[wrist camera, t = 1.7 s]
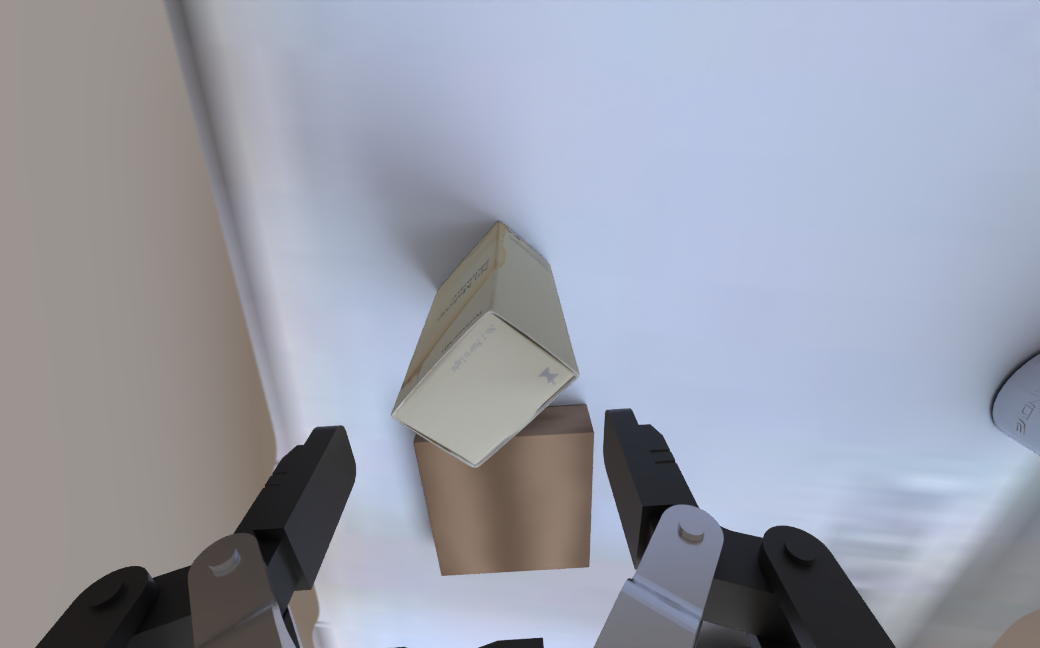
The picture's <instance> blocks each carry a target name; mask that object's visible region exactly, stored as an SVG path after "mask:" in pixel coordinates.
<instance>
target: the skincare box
mask: <svg viewBox="0 0 1040 648" xmlns="http://www.w3.org/2000/svg"><path fill="white" fill-rule="evenodd" d="M578 377H579V371H578V367H577V363H576V360H575V356H574V353H573V349H572V345H571V342H570V338H569V334H568V330H567V326H566V322H565V319H564V315H563V311H562V308H561V304H560V300H559V296H558V293H557V289H556V285H555V281H554V277H553V273H552V270H551V266H550V264H549V263H548V262H547V261H546V260H545V259H544V258H543V257H541V256H540V255H539V254H538V253H537V252H536V251H535V250H534V249H533V248H532V247H530V246H529V245H528V244H527V243H526V242H525V241H524V240H522V239H521V238H520V237H519V236H518V235H516V234H515V233H514V232H513V231H512V230H510V229H509V228H508V227H507V226H505V225H504V224H503V223H502V222H500V221H498V222H497V223H496V224H495V225H494V226H493V227H492V228H491V230H490V231H489V232H488V233H487V234H486V235H485V236H484V237H483V238H482V240H481V241H480V242H479V243H478V244H477V245H476V246H475V247H474V249H473V250H472V251H471V252H470V253H469V254H468V255H467V256H466V258H465V259H464V260H463V261H462V262H461V263H460V265H459V266H458V267H457V268H456V269H455V271H454V272H453V273H452V274H451V275H450V276H449V278H448V279H447V280H446V281H445V282H444V284H443V285H442V286H441V287H440V288H439V290H438V291H437V294H436V296H435V299H434V301H433V304H432V306H431V309H430V311H429V314H428V317H427V320H426V322H425V325H424V328H423V330H422V333H421V336H420V338H419V341H418V344H417V346H416V349H415V352H414V355H413V357H412V360H411V363H410V365H409V368H408V371H407V373H406V376H405V379H404V382H403V384H402V387H401V390H400V392H399V395H398V397H397V400H396V403H395V406H394V408H393V411H392V413H391V416H392V417H393V418H394V419H395V420H397V421H398V422H400V423H401V424H403V425H404V426H406V427H408V428H409V429H411V430H413V431H414V432H416V433H417V434H419V435H420V436H422V437H423V438H425V439H427V440H428V441H430V442H431V443H433V444H435V445H436V446H438V447H439V448H441V449H443V450H444V451H446V452H448V453H449V454H451V455H453V456H454V457H456V458H458V459H459V460H461V461H462V462H464V463H466V464H468V465H469V466H471V467H474V468H475V467H479V466H480V465H481V464H483V463H484V462H485V461H486V460H487V459H488V458H489V457H491V456H492V455H493V454H494V453H495V452H497V451H498V450H499V449H500V448H501V447H502V446H503V445H504V444H506V443H507V442H508V441H509V440H510V439H511V438H512V437H514V436H515V435H516V434H517V433H518V432H520V431H521V430H522V429H523V428H524V427H525V426H526V425H527V424H528V423H530V422H531V421H532V420H533V419H534V418H535V417H536V416H537V415H538V414H539V413H540V412H541V411H543V410H544V409H545V408H546V407H547V406H548V405H549V404H550V403H551V402H552V401H553V400H554V399H556V397H558V396H559V395H560V394H561V393H562V392H563V391H564V390H565V389H566V388H567V387H568V386H569V385H571V384H572V383H573V382H574V381H575V380H576V379H577V378H578Z"/></svg>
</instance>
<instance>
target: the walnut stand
mask: <svg viewBox="0 0 1040 648" xmlns="http://www.w3.org/2000/svg"><path fill="white" fill-rule="evenodd" d="M593 444H594V431H593V427H592V424H591V420H590V416H589V413H588V409H587V405H571V406H554V407H546V408H545V409H544V410H543V411H541V412H540V413H539V414H538V415H537V416H536V417H535V418H534V419H533V420H532V421H531V422H530V423H528V424H527V425H526V426H525V427H524V428H523V429H522V430H521V431H520V432H518V433H517V434H516V435H515V436H514V437H512V438H511V439H510V440H509V441H508V442H507V443H506V444H504V445H503V446H502V447H501V448H500V449H499V450H498V451H497V452H495V453H494V454H493V455H492V456H491V457H489V458H488V459H487V460H486V461H485V462H484V463H483V464H481V465H480V466H479V467H475V468H474V467H471V466H469V465H468V464H466V463H464V462H462V461H461V460H459V459H458V458H456V457H454V456H453V455H451V454H449V453H448V452H446V451H444V450H443V449H441V448H439V447H438V446H436V445H435V444H433V443H431V442H430V441H428V440H427V439H425V438H423V437H422V436H420V435H419V434H417V433H416V436H415V439H414V447H415V452H416V457H417V461H418V466H419V471H420V476H421V480H422V485H423V490H424V495H425V499H426V504H427V509H428V514H429V518H430V523H431V528H432V533H433V537H434V542H435V547H436V551H437V556H438V561H439V566H440V570H441V575H442V576H446V575H463V574H480V573H497V572H514V571H531V570H548V569H566V568H583V567H589V559H590V531H591V502H592V473H593Z"/></svg>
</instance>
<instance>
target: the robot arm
mask: <svg viewBox="0 0 1040 648" xmlns="http://www.w3.org/2000/svg"><path fill="white" fill-rule="evenodd" d="M993 419H994V423H995V425H996V426H997V428H998V429H999V430H1000V431H1002V432H1003V433H1004V434H1006V435H1007V436H1009V437H1011V438H1012V439H1014V440H1015V441H1017V442H1018V443H1020V444H1022V445H1023V446H1025V447H1026V448H1028V449H1029V450H1031V451H1033V452H1034V453H1036V454H1037V455H1039V456H1040V354H1038V355H1037V356H1035V357H1034V358H1032V359H1031V360H1029V361H1028V362H1027V363H1026V364H1024V365H1023V366H1022V367H1021V368H1020V369H1018V370H1017V371H1016V372H1015V373H1014V374H1013V375H1012V376H1011V377H1010V378H1009V380H1008V381H1007V382H1006V383H1005V384H1004V386H1003V387H1002V389H1001V390H1000V392H999V393H998V396H997V398H996V400H995V403H994V407H993ZM603 455H604V463H605V468H606V472H607V475H608V478H609V482H610V485H611V489H612V492H613V496H614V499H615V502H616V506H617V509H618V513H619V516H620V520H621V523H622V526H623V530H624V533H625V537H626V540H627V544H628V547H629V551H630V554H631V557H632V561H633V564H634V568H635V570H636V573H635V575H634V576H633V578H632V579H630V578H629V579H627V580H626V582H625V583H624V585H623V587H622V589H621V591H620V593H619V595H618V597H617V599H616V602H615V604H614V606H613V608H612V610H611V612H610V614H609V616H608V618H607V620H606V623H605V625H604V627H603V629H602V631H601V633H600V635H599V637H598V639H597V642H596V644H595V646H594V648H696V644H697V641H698V637H699V634H700V630H701V627H702V624H703V620H704V621H707V622H711V623H714V624H718V625H721V626H725V627H728V628H732V629H735V630H739V631H742V632H745V633H746V635H747V637H748V640H749V642H750V645H751V647H752V648H896V647H895V646H894V644H893V643H892V641H891V640H890V638H889V637H888V635H887V634H886V632H885V631H884V629H883V628H882V627H881V625H880V624H879V622H878V621H877V619H876V618H875V616H874V615H873V613H872V612H871V610H870V609H869V608H868V606H867V605H866V603H865V602H864V600H863V599H862V597H861V596H860V594H859V593H858V591H857V590H856V589H855V587H854V586H853V584H852V583H851V581H850V580H849V578H848V577H847V575H846V574H845V572H844V571H843V569H842V568H841V567H840V565H839V564H838V562H837V561H836V559H835V558H834V556H833V555H832V553H831V552H830V551H829V549H828V548H827V547H826V546H825V545H824V544H823V543H822V542H821V541H819V540H818V539H817V538H815V537H814V536H812V535H811V534H809V533H807V532H805V531H803V530H801V529H798V528H795V527H790V526H775V527H772V528H770V529H768V530H767V531H766V533H765V534H764V537H763V538H761V537H756V536H752V535H747V534H743V533H738V532H734V531H731V530H728V529H725V528H723V527H721V526H720V525H719V524H718V522H717V521H716V520H715V519H714V518H713V517H712V516H711V515H710V514H708V513H707V512H705V511H704V510H702V509H700V508H699V507H698V505H697V503H696V501H695V499H694V497H693V495H692V493H691V491H690V489H689V487H688V485H687V483H686V481H685V479H684V477H683V475H682V473H681V471H680V469H679V467H678V465H677V463H675V459H674V457H673V455H672V453H671V452H670V449H669V447H668V445H667V443H666V441H665V439H664V437H663V435H661V434H660V433H659V432H658V431H657V430H656V429H655V428H654V427H653V426H651V425H650V424H647V425H638V423H637V420H636V418H635V416H634V413H633V411H632V410H631V409H630V408H629V409H613V410H606V412H605V424H604V443H603ZM355 478H356V463H355V460H354V456H353V453H352V450H351V446H350V443H349V440H348V436H347V433H346V430H345V428H344V427H343V426H341V425H340V426H324V427H316V428H314V430H313V431H312V433H311V434H310V436H309V437H308V439H307V441H306V442H305V444H304V445H297V446H296V447H295V448H294V449H292V450H291V451H290V452H289V453H288V454H287V455H286V456H284V457H283V458H282V459H281V461H280V463H279V464H278V466H277V467H276V469H275V470H274V472H273V476H270V478H269V480H268V481H267V483H266V484H265V488H263V489H262V491H261V492H260V494H259V495H258V497H257V498H256V500H255V501H254V503H253V504H252V506H251V507H250V509H249V511H248V512H247V514H246V515H245V517H244V518H243V520H242V522H241V523H240V525H239V526H238V528H237V529H236V531H235V532H234V534H232V535H229V536H226V537H224V538H221V539H219V540H218V541H216V542H214V543H213V544H211V545H210V546H208V547H207V548H206V549H205V550H204V551H203V552H202V553H201V554H200V555H199V556H198V557H197V558H196V559H195V560H194V562H193V564H192V565H190V566H188V567H185V568H182V569H178V570H175V571H172V572H170V573H167V574H163V575H160V576H157V577H154V578H152V577H151V576H150V574H149V573H148V572H147V570H146V569H145V568H142V567H140V566H130V567H125V568H122V569H119V570H116V571H114V572H112V573H110V574H108V575H106V576H104V577H102V578H101V579H99V580H97V581H96V582H95V583H93V584H92V585H90V586H89V587H88V588H87V589H85V590H84V591H83V592H82V593H81V594H80V595H79V596H78V597H77V598H76V599H75V600H74V602H73V603H72V604H71V605H70V606H69V608H68V609H67V610H66V611H65V612H64V614H63V615H62V616H61V617H60V618H59V620H58V621H57V622H56V623H55V625H54V626H53V627H52V628H51V629H50V631H49V632H48V633H47V634H46V636H45V637H44V638H43V639H42V640H41V641H40V643H39V644H38V645H37V646H36V647H35V648H302V644H301V641H300V638H299V634H298V631H297V628H296V625H295V621H294V618H293V615H292V612H291V609H290V607H289V605H288V603H289V601H290V599H291V597H292V594H293V592H294V591H298V590H311V588H312V586H313V584H314V581H315V579H316V576H317V574H318V571H319V569H320V567H321V564H322V562H323V559H324V557H325V554H326V552H327V549H328V547H329V544H330V542H331V539H332V537H333V534H334V532H335V529H336V527H337V525H338V522H339V520H340V517H341V515H342V512H343V510H344V507H345V505H346V502H347V500H348V497H349V495H350V492H351V490H352V488H353V485H354V482H355ZM397 648H406V647H397ZM479 648H544V646H543V638H531V639H516V640H501V641H496V642H493V643H490V644H487V645H485V646H482V647H479Z"/></svg>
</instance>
